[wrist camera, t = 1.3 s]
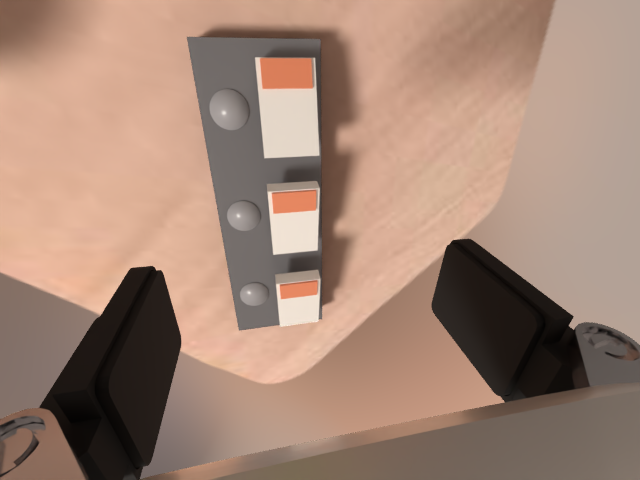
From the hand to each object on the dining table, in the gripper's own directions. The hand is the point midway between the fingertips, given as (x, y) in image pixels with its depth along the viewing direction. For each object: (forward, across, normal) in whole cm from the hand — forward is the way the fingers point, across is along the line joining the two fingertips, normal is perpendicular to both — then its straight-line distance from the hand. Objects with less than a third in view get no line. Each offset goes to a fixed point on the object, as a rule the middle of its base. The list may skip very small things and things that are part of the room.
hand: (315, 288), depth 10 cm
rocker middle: (+15, -1, +4) cm, 16 cm away
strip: (+19, +1, +5) cm, 19 cm away
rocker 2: (+15, -1, +13) cm, 20 cm away
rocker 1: (+15, -1, -4) cm, 16 cm away
